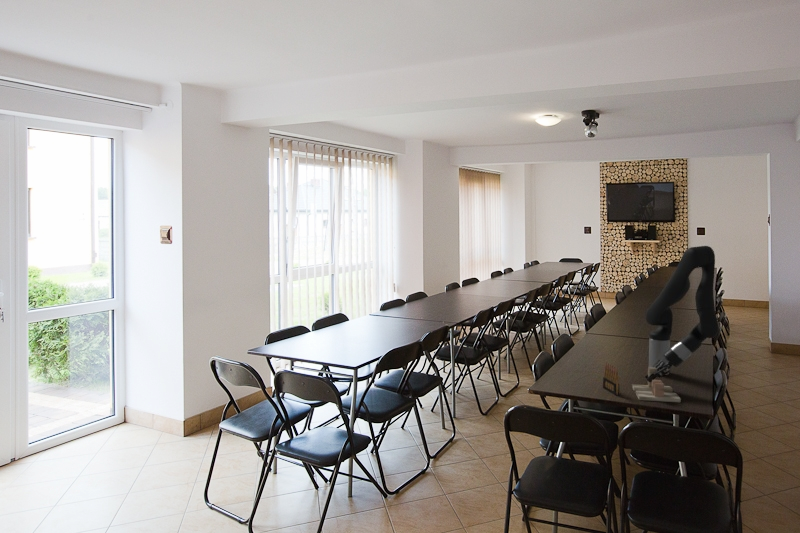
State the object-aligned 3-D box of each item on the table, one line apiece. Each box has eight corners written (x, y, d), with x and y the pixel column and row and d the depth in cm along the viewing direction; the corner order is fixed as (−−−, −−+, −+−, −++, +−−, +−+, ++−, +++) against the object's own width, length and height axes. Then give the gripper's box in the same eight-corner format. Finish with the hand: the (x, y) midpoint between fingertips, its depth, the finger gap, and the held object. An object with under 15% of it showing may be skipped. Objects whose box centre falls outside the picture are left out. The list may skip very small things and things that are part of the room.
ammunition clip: (619, 395, 239) (620, 368, 238) (615, 395, 239) (616, 368, 238) (606, 387, 250) (607, 361, 249) (602, 387, 249) (603, 362, 248)
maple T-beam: (632, 387, 249) (632, 366, 248) (670, 389, 245) (670, 367, 244) (633, 390, 245) (634, 368, 244) (672, 392, 241) (673, 370, 240)
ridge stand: (635, 394, 240) (636, 378, 239) (675, 396, 236) (675, 380, 236) (639, 400, 232) (639, 383, 232) (680, 402, 229) (680, 385, 228)
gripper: (667, 344, 248) (637, 369, 252) (675, 351, 235) (644, 378, 239) (679, 356, 248) (650, 381, 251) (688, 364, 234) (657, 390, 238)
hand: (647, 379), depth 245 cm, fingers closed on maple T-beam, 3 cm apart
